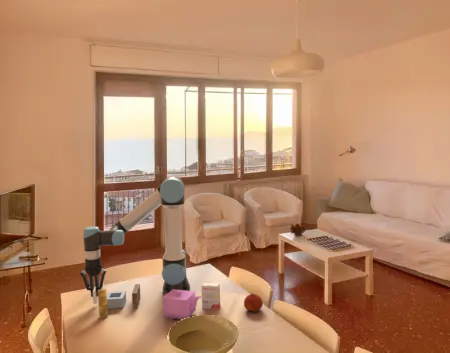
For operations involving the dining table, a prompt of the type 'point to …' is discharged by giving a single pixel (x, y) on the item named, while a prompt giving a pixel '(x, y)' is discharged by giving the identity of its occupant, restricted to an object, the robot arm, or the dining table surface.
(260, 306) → the fruit
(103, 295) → the golden brown tall cylinder
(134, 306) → the board
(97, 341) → the dining table surface
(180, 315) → the teapot
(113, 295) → the block
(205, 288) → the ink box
